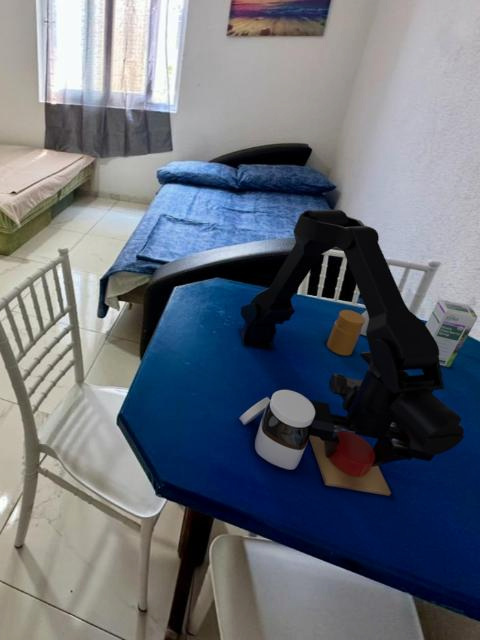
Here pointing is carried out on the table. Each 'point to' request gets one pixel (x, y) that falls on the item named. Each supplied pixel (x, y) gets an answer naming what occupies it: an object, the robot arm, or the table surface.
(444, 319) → the syrup box
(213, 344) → the table surface
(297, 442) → the spread jar
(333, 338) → the orange pill bottle
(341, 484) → the coaster
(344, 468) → the lid
